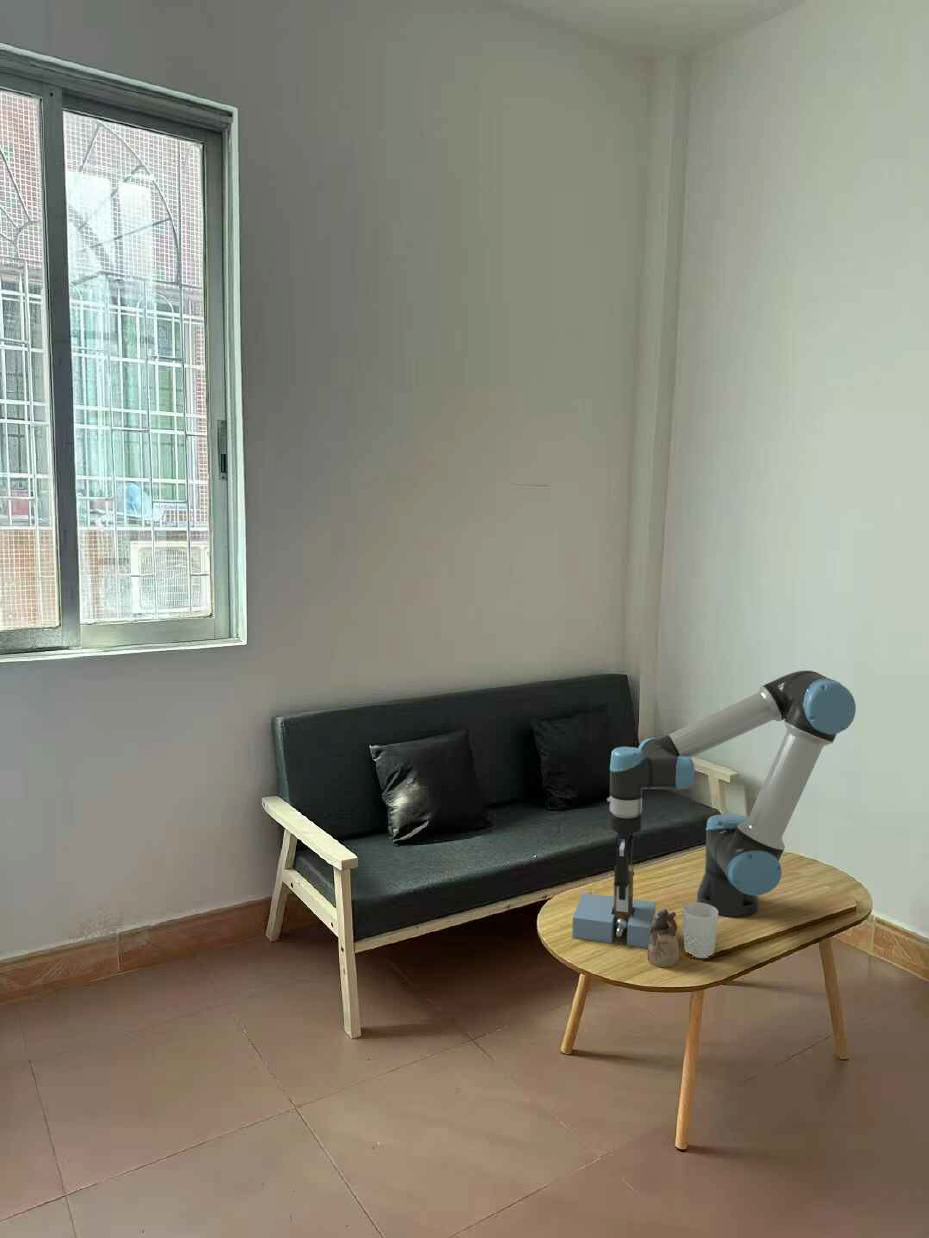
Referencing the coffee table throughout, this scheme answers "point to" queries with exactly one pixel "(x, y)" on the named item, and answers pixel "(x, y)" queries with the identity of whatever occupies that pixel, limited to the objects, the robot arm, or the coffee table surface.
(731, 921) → the coffee table surface
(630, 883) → the peg
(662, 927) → the figurine
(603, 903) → the socket board
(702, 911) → the white cup
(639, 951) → the coffee table surface
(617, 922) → the plunger
